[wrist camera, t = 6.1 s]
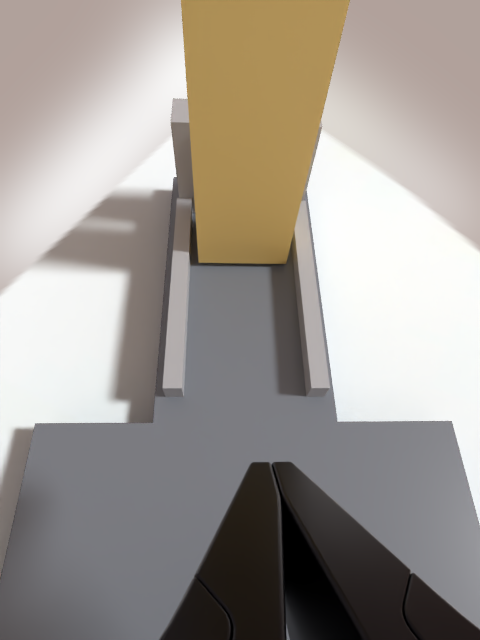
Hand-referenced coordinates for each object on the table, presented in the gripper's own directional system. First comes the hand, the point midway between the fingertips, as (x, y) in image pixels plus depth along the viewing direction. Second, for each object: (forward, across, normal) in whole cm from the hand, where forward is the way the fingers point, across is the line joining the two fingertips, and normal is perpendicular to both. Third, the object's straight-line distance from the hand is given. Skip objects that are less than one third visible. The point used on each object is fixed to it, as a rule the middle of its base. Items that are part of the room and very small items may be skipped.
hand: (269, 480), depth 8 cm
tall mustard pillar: (+12, 0, -4) cm, 13 cm away
